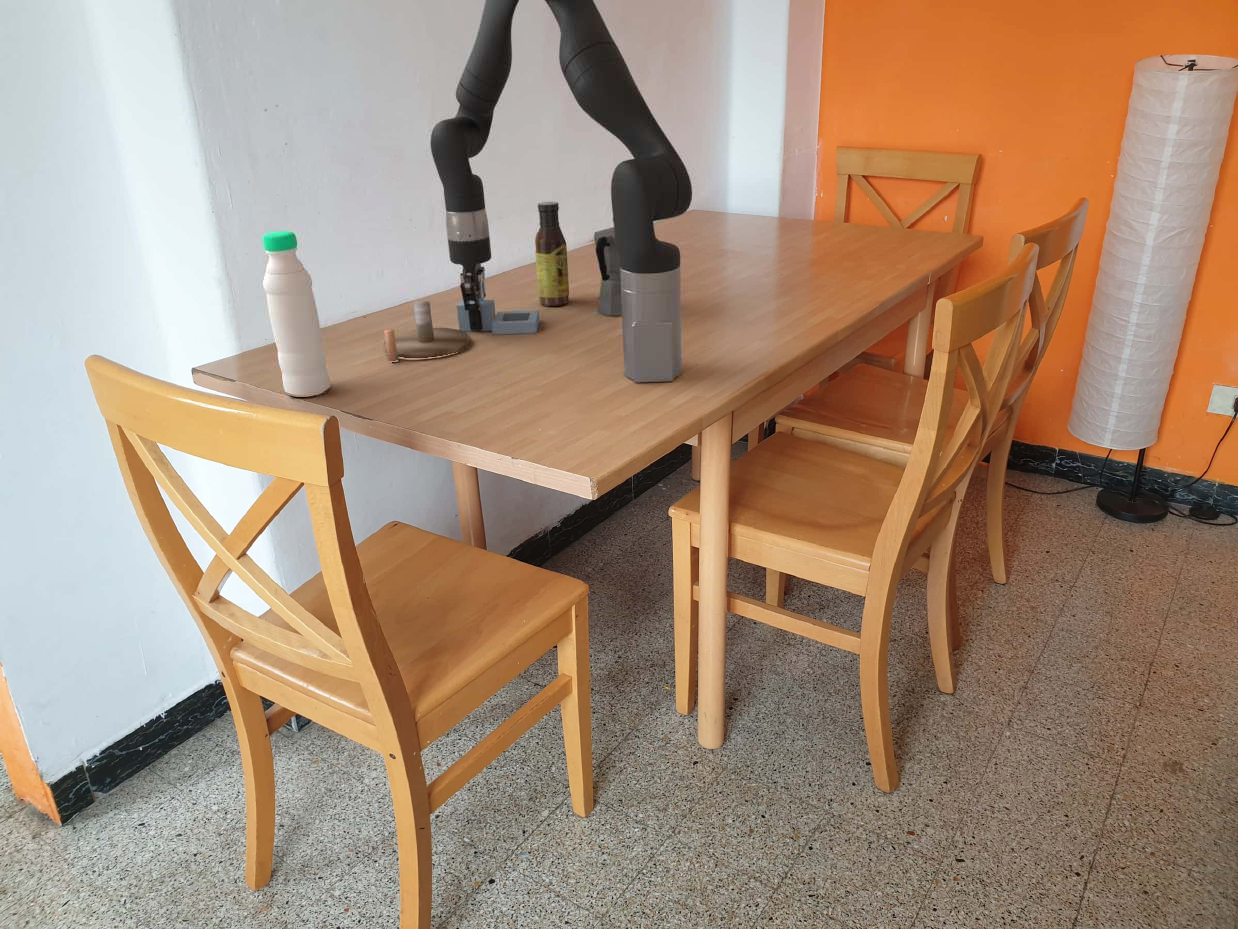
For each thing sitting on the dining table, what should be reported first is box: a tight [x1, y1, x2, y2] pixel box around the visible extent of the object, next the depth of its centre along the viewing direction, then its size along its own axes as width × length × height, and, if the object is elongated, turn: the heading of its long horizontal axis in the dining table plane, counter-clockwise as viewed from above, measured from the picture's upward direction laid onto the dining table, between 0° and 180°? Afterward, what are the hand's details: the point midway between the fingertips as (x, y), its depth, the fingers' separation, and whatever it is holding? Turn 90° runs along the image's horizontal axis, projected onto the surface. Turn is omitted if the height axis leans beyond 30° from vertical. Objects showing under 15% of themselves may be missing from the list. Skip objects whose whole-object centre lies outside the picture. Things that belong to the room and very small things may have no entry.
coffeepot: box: [593, 222, 622, 318], centre depth 182 cm, size 15×9×18 cm, turn 156°
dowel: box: [383, 328, 399, 362], centre depth 163 cm, size 2×2×6 cm
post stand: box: [383, 300, 470, 358], centre depth 169 cm, size 15×15×8 cm
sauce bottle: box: [534, 201, 570, 307], centre depth 190 cm, size 7×6×20 cm
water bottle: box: [262, 230, 331, 395], centre depth 147 cm, size 7×7×25 cm
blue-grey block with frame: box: [456, 299, 540, 335], centre depth 178 cm, size 14×8×5 cm, turn 89°
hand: (478, 326), depth 180 cm, fingers closed on blue-grey block with frame, 3 cm apart
